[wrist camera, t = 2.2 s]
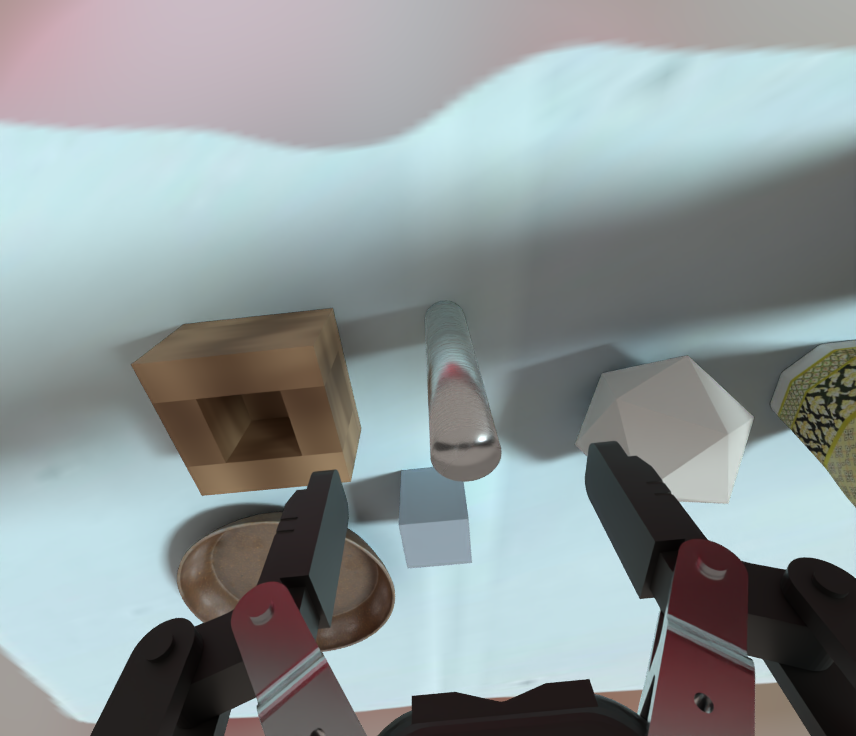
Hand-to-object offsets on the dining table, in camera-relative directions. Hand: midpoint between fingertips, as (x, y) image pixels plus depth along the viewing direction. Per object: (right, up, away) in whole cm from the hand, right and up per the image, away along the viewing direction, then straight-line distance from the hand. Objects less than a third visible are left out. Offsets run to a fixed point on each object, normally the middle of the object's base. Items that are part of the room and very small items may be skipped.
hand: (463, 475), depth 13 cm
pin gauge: (0, +6, +11) cm, 13 cm away
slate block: (-1, -6, +18) cm, 19 cm away
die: (+13, +2, +14) cm, 19 cm away
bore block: (-11, +3, +13) cm, 17 cm away
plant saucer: (-13, -14, +23) cm, 30 cm away
